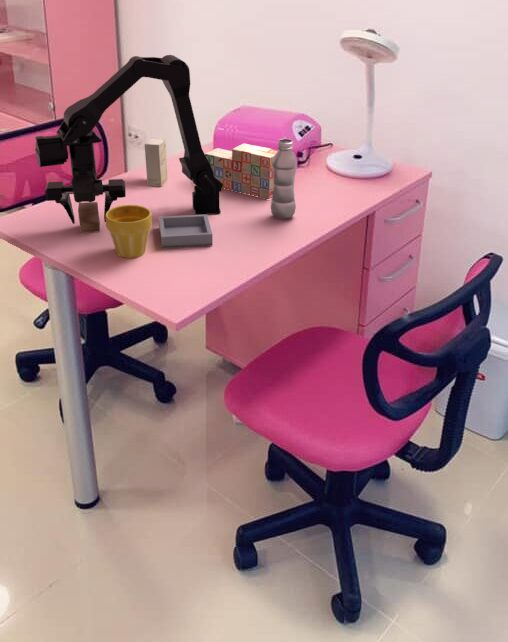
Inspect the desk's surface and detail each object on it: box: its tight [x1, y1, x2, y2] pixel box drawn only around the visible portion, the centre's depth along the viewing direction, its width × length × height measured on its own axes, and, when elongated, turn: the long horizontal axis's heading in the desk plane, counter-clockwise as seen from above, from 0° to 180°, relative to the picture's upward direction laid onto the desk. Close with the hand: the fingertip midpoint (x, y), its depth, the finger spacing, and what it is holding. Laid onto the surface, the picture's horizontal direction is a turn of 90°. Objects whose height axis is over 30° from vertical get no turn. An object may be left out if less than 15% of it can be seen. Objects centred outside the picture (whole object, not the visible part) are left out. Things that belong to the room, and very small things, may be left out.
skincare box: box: [144, 137, 169, 187], centre depth 205 cm, size 6×4×12 cm
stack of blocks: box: [204, 142, 278, 200], centre depth 201 cm, size 21×6×12 cm, turn 58°
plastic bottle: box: [270, 138, 298, 220], centre depth 183 cm, size 6×7×20 cm
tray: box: [158, 214, 214, 249], centre depth 176 cm, size 12×12×3 cm
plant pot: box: [105, 204, 153, 259], centre depth 166 cm, size 10×10×10 cm
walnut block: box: [77, 201, 101, 233], centre depth 178 cm, size 4×4×6 cm
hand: (89, 222), depth 179 cm, fingers open, 7 cm apart
